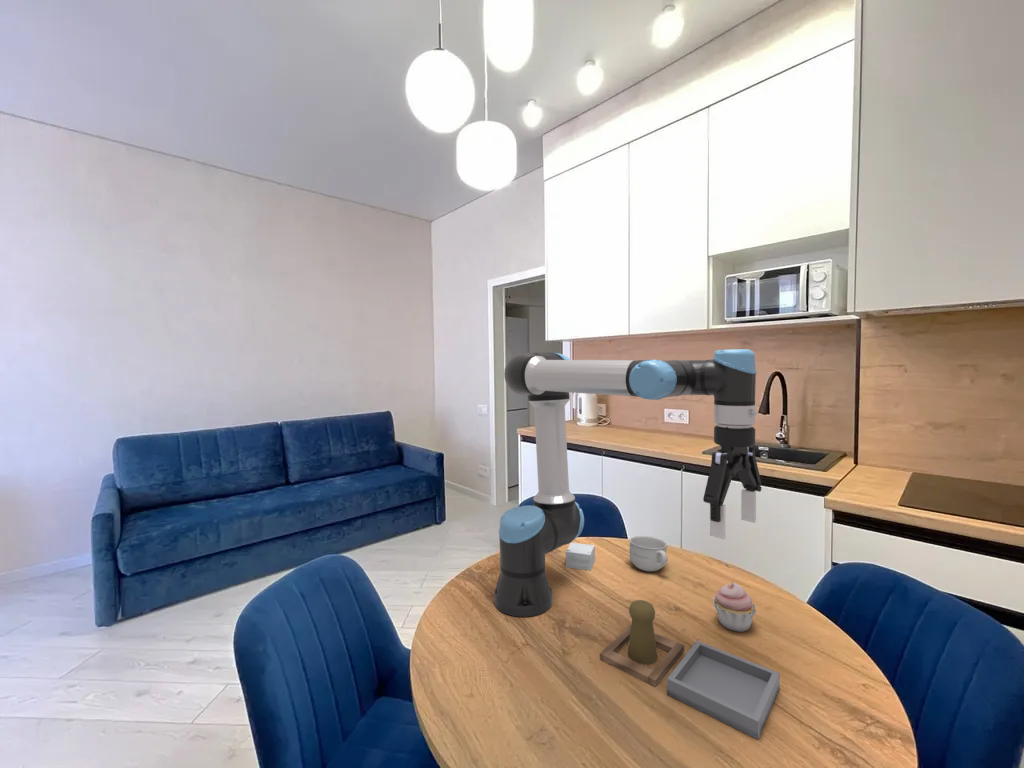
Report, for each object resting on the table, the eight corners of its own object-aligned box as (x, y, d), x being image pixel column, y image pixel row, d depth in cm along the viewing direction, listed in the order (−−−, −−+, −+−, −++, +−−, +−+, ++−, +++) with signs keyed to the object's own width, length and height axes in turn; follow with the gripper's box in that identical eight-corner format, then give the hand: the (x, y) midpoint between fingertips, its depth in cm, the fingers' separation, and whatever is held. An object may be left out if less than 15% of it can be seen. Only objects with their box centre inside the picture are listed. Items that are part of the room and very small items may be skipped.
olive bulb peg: (659, 666, 89) (659, 612, 88) (628, 662, 90) (627, 609, 90) (655, 647, 95) (655, 597, 94) (626, 644, 96) (626, 594, 95)
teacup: (624, 560, 137) (624, 535, 137) (657, 558, 139) (657, 533, 138) (642, 582, 124) (642, 553, 123) (679, 579, 125) (679, 551, 124)
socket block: (599, 659, 91) (599, 653, 91) (631, 629, 101) (631, 623, 101) (655, 686, 83) (655, 680, 83) (684, 650, 93) (684, 645, 93)
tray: (667, 694, 81) (667, 678, 81) (697, 654, 92) (697, 640, 92) (758, 739, 71) (758, 721, 71) (779, 688, 82) (779, 672, 82)
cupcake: (707, 611, 108) (707, 571, 108) (749, 615, 106) (749, 574, 106) (717, 634, 99) (717, 590, 99) (763, 638, 97) (763, 594, 97)
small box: (595, 560, 138) (595, 544, 138) (591, 571, 131) (590, 554, 131) (571, 557, 141) (570, 541, 141) (565, 568, 133) (564, 551, 133)
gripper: (723, 434, 79) (722, 550, 80) (779, 421, 95) (778, 519, 95) (684, 429, 85) (684, 538, 86) (742, 418, 100) (742, 510, 101)
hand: (733, 528), depth 90 cm, fingers open, 13 cm apart
